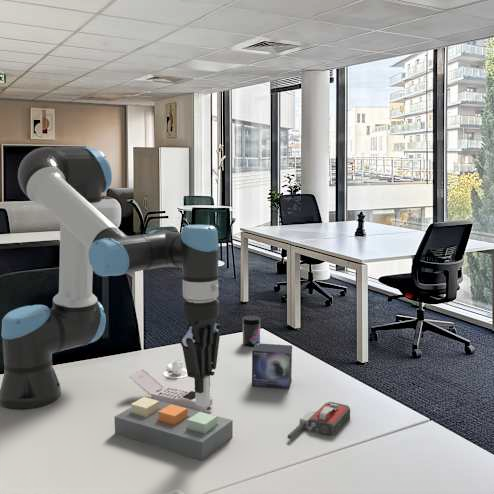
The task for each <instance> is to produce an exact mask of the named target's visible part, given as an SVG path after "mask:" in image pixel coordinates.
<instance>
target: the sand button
mask: <svg viewBox="0 0 494 494" xmlns="http://www.w3.org/2000/svg"><path fill="white" fill-rule="evenodd" d="M130 408H131V413H133V414H137V415H140V416H144V417H148V416H150V415H152V414H154V413H155V412H157V411H159V410H160V408H159V401H157V400H154V399H152V398H151V399H150V397H145V396H143V397H141V398H140V399H139V398H138V400H136V401H134V402H132V403H130Z"/></svg>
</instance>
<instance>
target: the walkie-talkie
mask: <svg viewBox="0 0 494 494" xmlns="http://www.w3.org/2000/svg"><path fill="white" fill-rule="evenodd" d="M350 419H351V408H350V406H349V405H347V404H343V403H338V402H334V401H328V402H325V403H324V404H323V405H322V406H320V408H319V409H318V410H317V411H316V410H314V411H310V412H309V411H308V412H307V413H306V414H304V415H303V416H302V417H300V418H299V424H298V425H297V426H296V427H295V428H294V429H293V430H292V431H291V432H290V433H289V434H287V439H289V440H291V439H293V438H294V437H295V436H296V435H297V434H298V433H299V432H300V431H302V429H307V430H308V431H309V432H310V431H312V432H317V433H320V434H322V435H326V436H327V435H328V436H335V435H336V434H337V433H338V432H339V431H340V430H341V428H342V427H343V426H344V425H345V424H346V423H347V422H348V421H349V420H350ZM345 422H346V423H345ZM344 423H345V424H344ZM339 429H340V430H339Z"/></svg>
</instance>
